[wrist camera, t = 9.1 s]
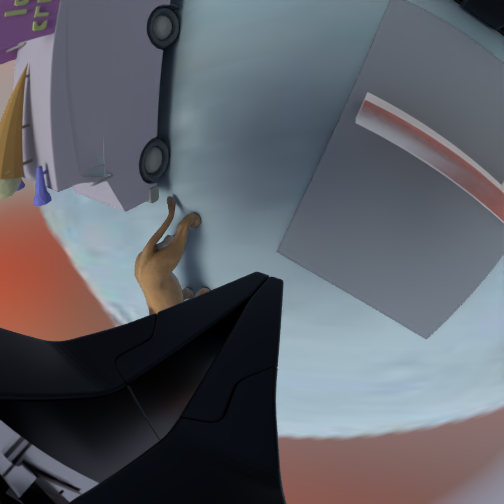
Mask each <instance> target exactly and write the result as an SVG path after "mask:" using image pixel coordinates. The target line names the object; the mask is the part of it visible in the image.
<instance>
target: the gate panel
mask: <svg viewBox="0 0 504 504" xmlns="http://www.w3.org/2000/svg"><path fill="white" fill-rule="evenodd" d="M355 123H356V124H358V125H360V126H362V127H364V128H366V129H368V130H370V131H372V132H374V133H376V134H378V135H380V136H381V137H383V138H385V139H387V140H389V141H390V142H392V143H394V144H396V145H397V146H399V147H401V148H403V149H404V150H406V151H408V152H409V153H411V154H412V155H414V156H416V157H417V158H419V159H420V160H422V161H424V162H425V163H427V164H428V165H430V166H431V167H433V168H434V169H436V170H437V171H439V172H440V173H441V174H443V175H444V176H446V177H447V178H449V179H450V180H451V181H453V182H454V183H455V184H457V185H458V186H459V187H461V188H462V189H463V190H465V191H466V192H467V193H469V194H470V195H471V196H472V197H474V198H475V199H476V200H477V201H479V202H480V203H481V204H482V205H484V206H485V207H486V208H487V209H488V210H489V211H491V212H492V213H493V214H494V215H495V216H496V217H497V218H499V219H500V220H501V221H502V222H503V223H504V191H503V190H502V189H501V188H499V187H498V186H497V185H496V184H495V183H494V182H493V181H491V180H490V179H489V178H488V177H487V176H486V175H484V174H483V173H482V172H481V171H480V170H478V169H477V168H476V167H475V166H473V165H472V164H471V163H469V162H468V161H467V160H466V159H464V158H463V157H462V156H460V155H459V154H458V153H456V152H455V151H453V150H452V149H451V148H449V147H448V146H446V145H445V144H443V143H442V142H440V141H439V140H438V139H436V138H434V137H433V136H431V135H430V134H428V133H427V132H425V131H424V130H422V129H420V128H419V127H417V126H415V125H414V124H412V123H410V122H409V121H407V120H405V119H404V118H402V117H400V116H398V115H396V114H395V113H393V112H391V111H389V110H387V109H385V108H383V107H381V106H379V105H378V104H376V103H374V102H372V101H370V100H367V99H365V101H364V103H363V106H362V108H361V110H360V113H359V115H358V117H357V120H356V122H355Z"/></svg>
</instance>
